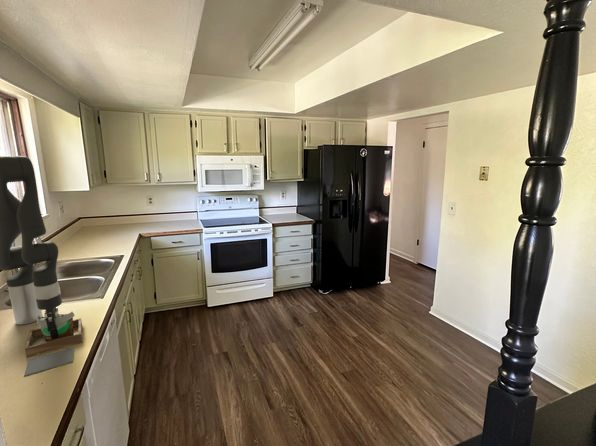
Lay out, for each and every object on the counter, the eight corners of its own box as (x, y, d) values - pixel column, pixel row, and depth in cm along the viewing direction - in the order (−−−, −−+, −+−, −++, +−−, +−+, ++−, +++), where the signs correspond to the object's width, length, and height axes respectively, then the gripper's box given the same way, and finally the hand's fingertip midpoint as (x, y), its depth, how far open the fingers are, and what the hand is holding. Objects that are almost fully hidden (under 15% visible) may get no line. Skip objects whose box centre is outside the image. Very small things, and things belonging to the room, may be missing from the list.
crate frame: (31, 338, 126) (30, 330, 125) (82, 325, 135) (80, 318, 134) (26, 357, 114) (24, 348, 113) (82, 342, 123) (80, 333, 122)
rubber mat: (28, 360, 112) (28, 359, 112) (73, 348, 119) (73, 347, 119) (24, 376, 104) (24, 375, 104) (72, 362, 111) (72, 361, 111)
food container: (34, 347, 120) (28, 323, 117) (42, 338, 125) (37, 315, 123) (71, 342, 123) (67, 318, 121) (77, 333, 129) (73, 310, 127)
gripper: (37, 289, 124) (45, 328, 128) (33, 304, 113) (41, 346, 116) (61, 285, 128) (68, 323, 132) (59, 298, 117) (66, 340, 120)
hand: (55, 334), depth 124 cm, fingers closed on food container, 5 cm apart
